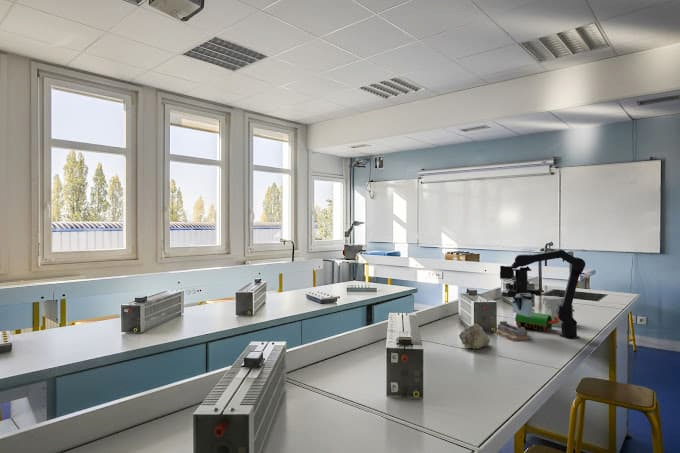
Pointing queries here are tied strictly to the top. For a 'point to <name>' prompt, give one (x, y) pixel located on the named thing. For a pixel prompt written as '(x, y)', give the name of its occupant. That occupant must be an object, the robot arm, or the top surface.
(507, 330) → the cabinet base
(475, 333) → the lumpy boulder
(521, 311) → the cabinet door
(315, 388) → the top surface
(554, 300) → the circuit breaker
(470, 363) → the top surface
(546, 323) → the motor
